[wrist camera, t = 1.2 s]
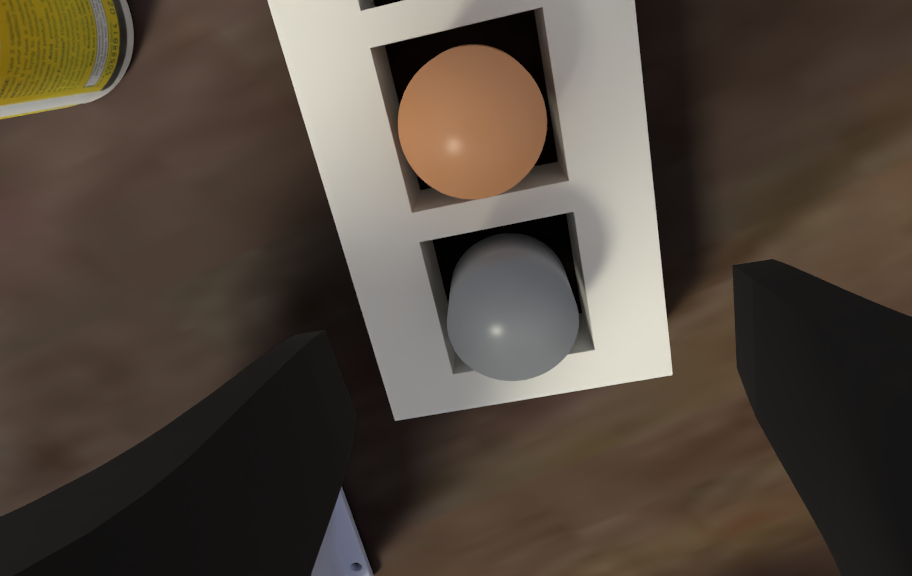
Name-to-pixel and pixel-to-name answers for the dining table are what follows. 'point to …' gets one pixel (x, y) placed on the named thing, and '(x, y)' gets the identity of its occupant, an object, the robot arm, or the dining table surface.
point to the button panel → (536, 196)
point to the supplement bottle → (61, 52)
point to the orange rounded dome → (472, 122)
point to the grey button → (511, 308)
